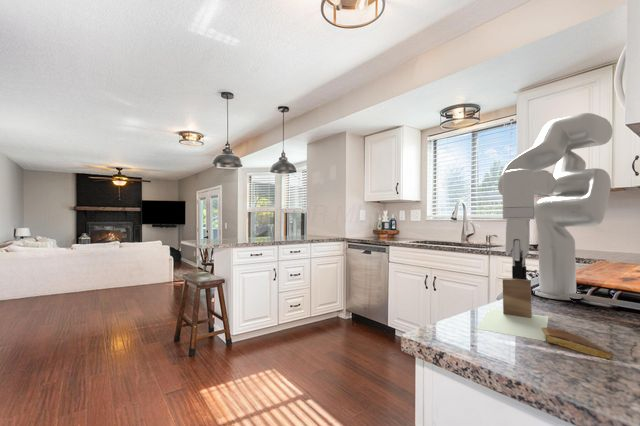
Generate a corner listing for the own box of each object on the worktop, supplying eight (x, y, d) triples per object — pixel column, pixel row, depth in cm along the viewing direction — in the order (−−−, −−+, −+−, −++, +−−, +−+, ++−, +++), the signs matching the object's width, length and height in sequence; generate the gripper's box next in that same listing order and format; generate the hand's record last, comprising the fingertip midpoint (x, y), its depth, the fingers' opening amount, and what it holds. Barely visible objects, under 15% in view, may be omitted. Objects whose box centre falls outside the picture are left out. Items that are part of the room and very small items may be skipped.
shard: (613, 363, 57) (614, 353, 57) (566, 356, 58) (567, 346, 58) (574, 339, 68) (575, 331, 68) (535, 334, 69) (535, 325, 69)
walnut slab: (504, 311, 86) (503, 277, 86) (531, 315, 82) (530, 280, 82) (503, 314, 84) (502, 279, 84) (530, 318, 80) (529, 281, 80)
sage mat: (490, 310, 89) (490, 308, 89) (548, 318, 81) (548, 316, 81) (476, 331, 74) (476, 328, 74) (545, 343, 66) (545, 340, 66)
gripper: (506, 214, 98) (507, 275, 98) (498, 214, 86) (499, 283, 86) (536, 214, 93) (537, 277, 93) (532, 214, 82) (533, 287, 81)
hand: (519, 280), depth 89 cm, fingers closed
